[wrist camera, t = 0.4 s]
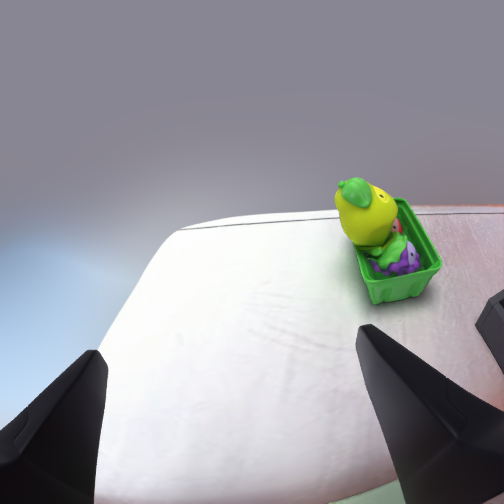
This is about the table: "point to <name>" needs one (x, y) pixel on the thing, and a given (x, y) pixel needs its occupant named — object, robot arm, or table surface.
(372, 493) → the control block
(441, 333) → the table surface
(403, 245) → the fruit basket
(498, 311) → the dark grey tray
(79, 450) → the robot arm
